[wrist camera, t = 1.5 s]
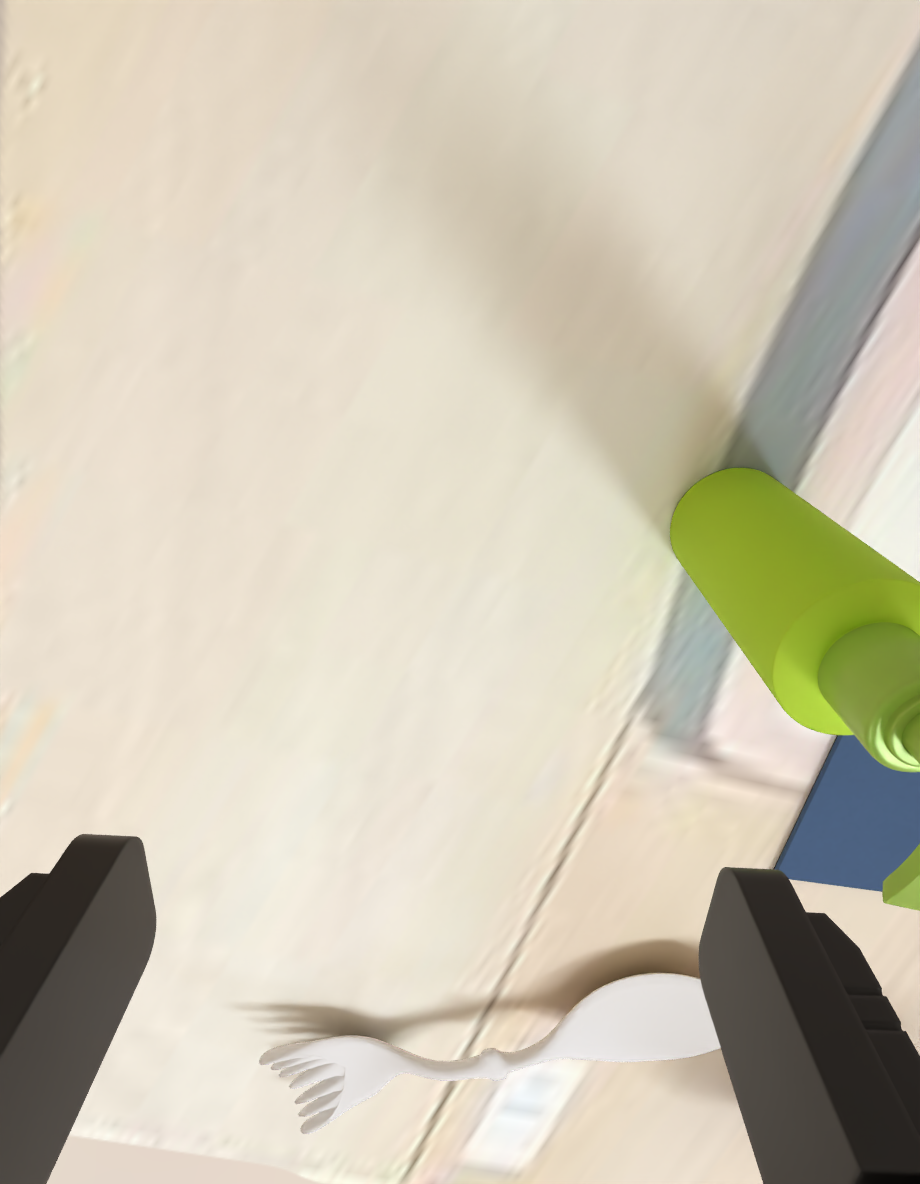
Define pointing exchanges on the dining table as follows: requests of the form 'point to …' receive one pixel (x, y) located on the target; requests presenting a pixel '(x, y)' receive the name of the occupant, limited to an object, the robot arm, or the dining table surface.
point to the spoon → (588, 1032)
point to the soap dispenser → (812, 618)
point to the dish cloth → (854, 821)
